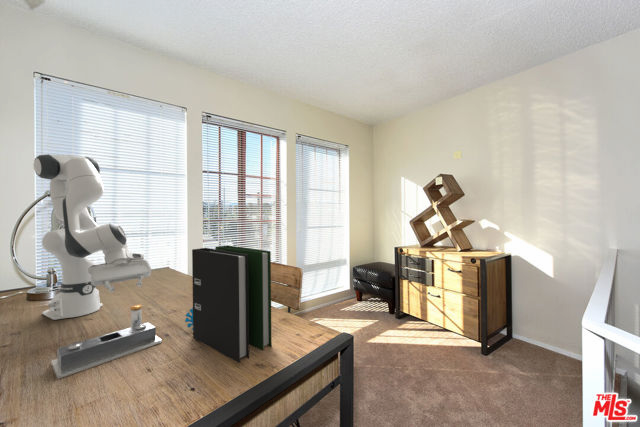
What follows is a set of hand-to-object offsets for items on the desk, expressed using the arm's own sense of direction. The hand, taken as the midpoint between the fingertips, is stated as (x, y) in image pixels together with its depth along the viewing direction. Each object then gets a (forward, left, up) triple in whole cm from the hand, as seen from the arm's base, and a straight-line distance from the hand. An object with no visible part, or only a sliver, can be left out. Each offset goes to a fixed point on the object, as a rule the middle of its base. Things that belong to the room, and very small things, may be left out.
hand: (126, 288), depth 107 cm
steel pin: (+10, -4, -15) cm, 19 cm away
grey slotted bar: (+16, -17, -15) cm, 28 cm away
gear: (+30, +8, -15) cm, 34 cm away
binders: (+49, +1, -15) cm, 52 cm away
